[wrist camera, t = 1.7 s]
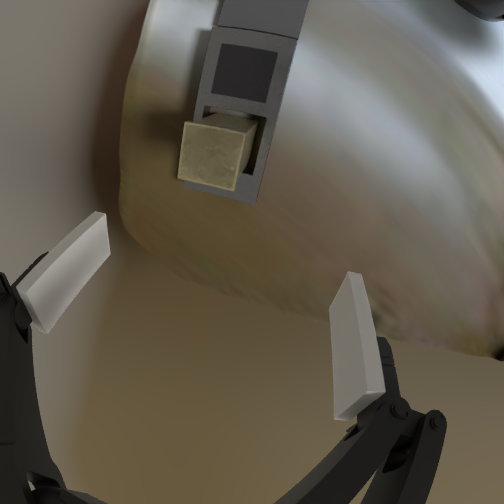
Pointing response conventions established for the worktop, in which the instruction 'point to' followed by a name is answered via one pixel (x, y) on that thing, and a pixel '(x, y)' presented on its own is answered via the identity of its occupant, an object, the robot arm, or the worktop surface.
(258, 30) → the pad
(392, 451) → the robot arm
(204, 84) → the grey flat piece
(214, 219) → the worktop surface
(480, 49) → the worktop surface
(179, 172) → the tan block
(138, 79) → the worktop surface
